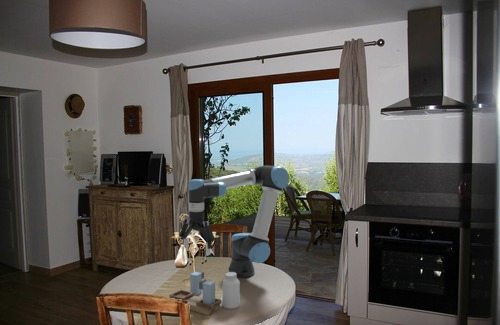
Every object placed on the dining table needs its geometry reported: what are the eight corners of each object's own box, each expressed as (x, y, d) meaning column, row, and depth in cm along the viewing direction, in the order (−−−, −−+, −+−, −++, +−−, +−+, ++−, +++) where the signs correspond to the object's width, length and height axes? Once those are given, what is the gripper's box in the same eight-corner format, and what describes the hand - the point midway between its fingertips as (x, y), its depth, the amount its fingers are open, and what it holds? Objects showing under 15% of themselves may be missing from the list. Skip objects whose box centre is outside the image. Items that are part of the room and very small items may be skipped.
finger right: (197, 289, 192) (197, 270, 192) (204, 291, 190) (204, 272, 190) (190, 293, 187) (190, 274, 187) (196, 295, 185) (196, 275, 185)
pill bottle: (219, 307, 171) (219, 275, 171) (226, 300, 179) (226, 269, 178) (235, 310, 169) (235, 277, 168) (242, 303, 176) (242, 271, 175)
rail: (181, 297, 183) (181, 289, 183) (222, 308, 171) (222, 299, 171) (168, 303, 175) (168, 295, 175) (210, 315, 163) (210, 306, 163)
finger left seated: (199, 304, 169) (199, 282, 169) (204, 300, 173) (204, 279, 172) (209, 307, 166) (209, 284, 166) (215, 303, 170) (215, 282, 169)
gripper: (171, 209, 188) (172, 251, 189) (213, 214, 176) (213, 258, 177) (181, 207, 194) (182, 247, 195) (221, 211, 182) (222, 254, 183)
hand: (196, 253), depth 186 cm, fingers open, 13 cm apart
